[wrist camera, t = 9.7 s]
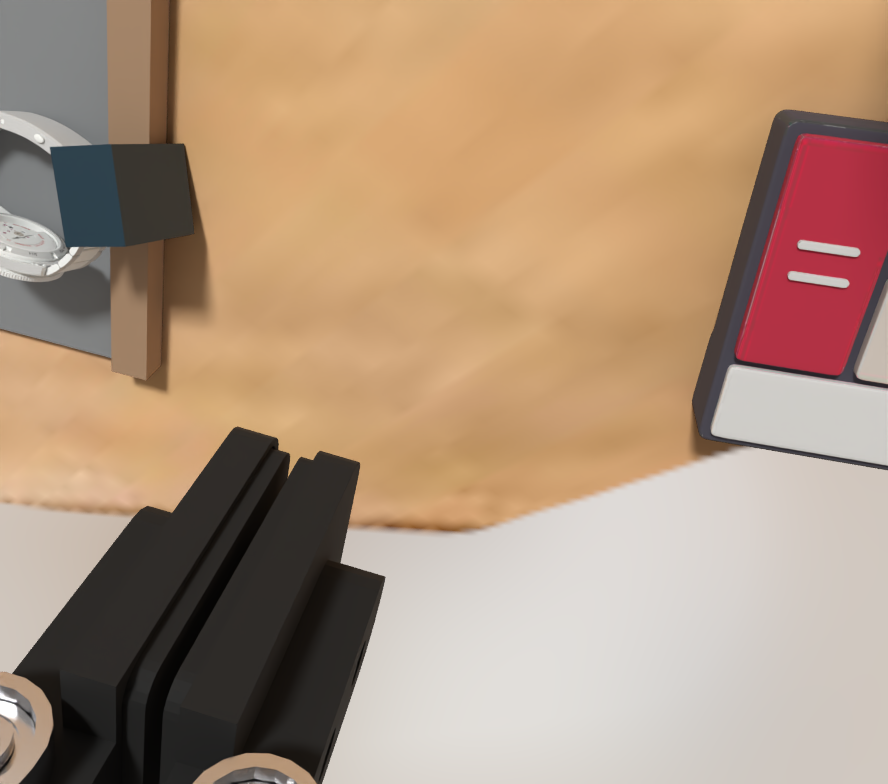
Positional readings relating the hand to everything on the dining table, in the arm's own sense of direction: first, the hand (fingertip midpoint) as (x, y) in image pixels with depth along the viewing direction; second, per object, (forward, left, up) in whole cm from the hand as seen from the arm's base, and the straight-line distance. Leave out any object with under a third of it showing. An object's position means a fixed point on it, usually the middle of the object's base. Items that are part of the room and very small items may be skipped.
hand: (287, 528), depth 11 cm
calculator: (+5, +17, -31) cm, 36 cm away
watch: (+7, -15, -27) cm, 31 cm away
